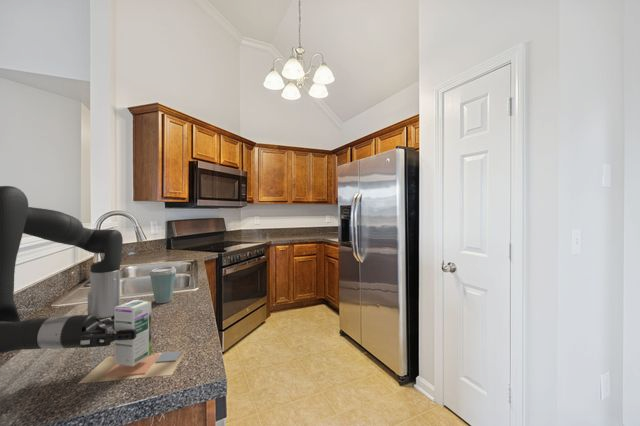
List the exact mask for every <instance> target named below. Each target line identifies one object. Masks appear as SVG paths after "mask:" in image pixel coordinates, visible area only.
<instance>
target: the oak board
mask: <svg viewBox="0 0 640 426" xmlns="http://www.w3.org/2000/svg"><path fill="white" fill-rule="evenodd" d="M181 351H182V353H181V354H180V356H179V357H178V359H177V361H172V362H160V363H156V360H157V359H158V358H159V357H160V355H161V354H162V353H163V352H154V353H153V352H151V355H156V354H159V356H158V358H157V359H156V360H155V362H154V363H153V364H152V366H151V367H150V368H149V370H148V371H147V372H146V373H145V374H139V375H128V376H117V377H105V378H104V376H105V375H106V374H107V373H108V372H109V371H110V370H111V369H112V368H113V367H114V366H115V365H116V364H115V355H114V356H107V357H105V358H104V360H102V361H101V362H100V363H99V364H97V366H95V367H94V368H93V369H92V370H91V371H90V372H88V374H87V375H85V377H83V378H82V379H81V380H79V382H78V383H77V384H78V385H79V384H89V383H100V382H109V381H111V382H112V381H122V380H132V379H133V380H134V379H144V378H155V377H166V376H173V373H174V372H175V371H176V369H177V368H178V365H179V364H180V362H181V360H182V359H183V357H184V355H185V353H186V352H187V350H181Z"/></svg>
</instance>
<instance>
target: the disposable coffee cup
mask: <svg viewBox="0 0 640 426" xmlns="http://www.w3.org/2000/svg"><path fill="white" fill-rule="evenodd" d="M176 273H177V269H176V268H175V266H171V265H168V266H161V267H157V268H154V269H153V268H152V269H151V271H150V272H149V276H150V282H151V286H152V287H151V288H152V292H153V297H154V301H155V303H156V304H166V303H169V302H171V301H172V299H173V294H174V286H175V278H176V277H175V276H176Z"/></svg>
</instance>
